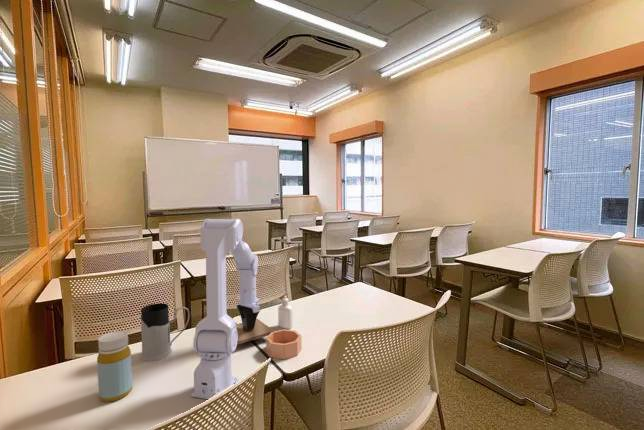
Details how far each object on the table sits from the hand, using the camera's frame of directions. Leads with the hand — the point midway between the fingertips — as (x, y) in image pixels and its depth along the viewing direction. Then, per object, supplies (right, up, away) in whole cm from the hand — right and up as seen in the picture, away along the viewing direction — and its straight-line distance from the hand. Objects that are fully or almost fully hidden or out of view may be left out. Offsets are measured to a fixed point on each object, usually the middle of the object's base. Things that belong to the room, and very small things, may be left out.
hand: (248, 326), depth 110 cm
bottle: (-26, -7, -30) cm, 40 cm away
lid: (0, -2, 0) cm, 2 cm away
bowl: (+13, -5, -8) cm, 16 cm away
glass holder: (-24, -5, -9) cm, 26 cm away
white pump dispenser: (+12, -4, +10) cm, 16 cm away
